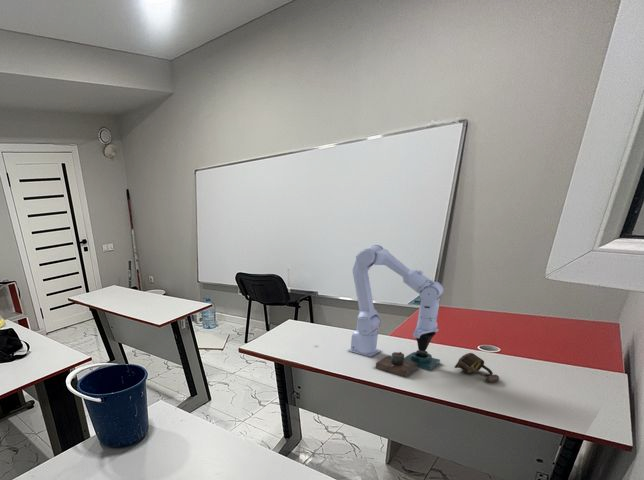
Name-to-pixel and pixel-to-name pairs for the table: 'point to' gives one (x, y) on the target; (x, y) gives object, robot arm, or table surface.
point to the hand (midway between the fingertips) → (422, 349)
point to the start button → (421, 353)
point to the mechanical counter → (475, 366)
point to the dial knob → (397, 358)
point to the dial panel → (397, 366)
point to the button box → (423, 361)
